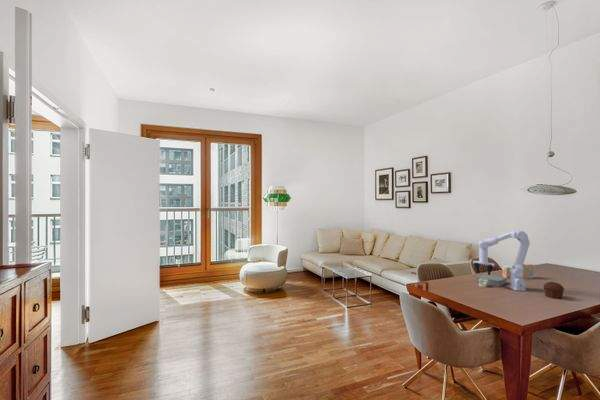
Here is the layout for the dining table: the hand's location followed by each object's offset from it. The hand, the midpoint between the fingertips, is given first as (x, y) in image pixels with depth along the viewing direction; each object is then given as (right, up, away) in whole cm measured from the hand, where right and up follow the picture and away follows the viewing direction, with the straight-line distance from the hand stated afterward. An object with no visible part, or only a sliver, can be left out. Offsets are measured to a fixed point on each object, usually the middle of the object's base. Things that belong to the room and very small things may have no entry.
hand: (483, 273), depth 236 cm
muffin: (+32, -10, -27) cm, 43 cm away
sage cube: (0, -10, 0) cm, 10 cm away
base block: (+12, -9, +10) cm, 18 cm away
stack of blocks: (+44, -10, +25) cm, 51 cm away
